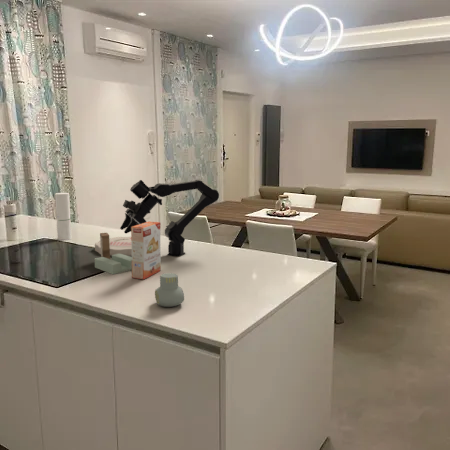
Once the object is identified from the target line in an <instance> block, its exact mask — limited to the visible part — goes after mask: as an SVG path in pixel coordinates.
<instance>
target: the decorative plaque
mask: <svg viewBox="0 0 450 450" xmlns="http://www.w3.org/2000/svg"><path fill="white" fill-rule="evenodd" d="M109 245H110V257H112V255H115V254H123V255H126V256H129V257H132V245H131V236H115V237H109ZM94 251H95V252H97V253H98V255H101V244H100V240H99V241H97V242H95V243H94Z"/></svg>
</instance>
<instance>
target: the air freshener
mask: <svg viewBox="0 0 450 450" xmlns="http://www.w3.org/2000/svg"><path fill="white" fill-rule="evenodd" d="M159 283H160V284H159V285H160V286H159V287H158V288H156V289H155V291H154V298H155V302H156V303H157V305H158V306H160V307H165V308H173V307H177V306H179V305H181V304H182V303H184V301H185V292H184V290H183V288H182V287H181V286H179V275H178V274H177V273H173V272H167V273H165V272H164V273H163V274H161V275H160V276H159Z"/></svg>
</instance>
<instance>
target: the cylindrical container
mask: <svg viewBox="0 0 450 450" xmlns="http://www.w3.org/2000/svg"><path fill="white" fill-rule="evenodd" d="M54 196H55V213H56V215H55V217H56V228H57V229H56V230H57V240H58V241H59V240H60V241H67V240H72V223H71V204H70V193H69V192H56V193H55V194H54Z"/></svg>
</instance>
